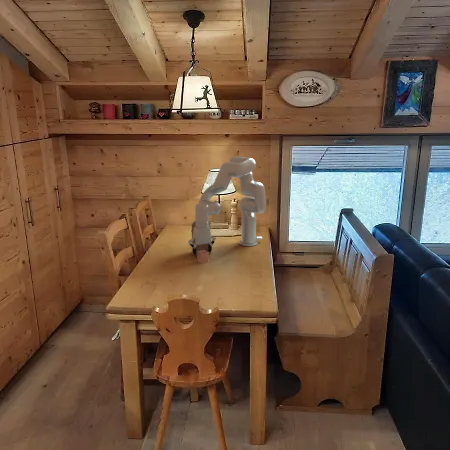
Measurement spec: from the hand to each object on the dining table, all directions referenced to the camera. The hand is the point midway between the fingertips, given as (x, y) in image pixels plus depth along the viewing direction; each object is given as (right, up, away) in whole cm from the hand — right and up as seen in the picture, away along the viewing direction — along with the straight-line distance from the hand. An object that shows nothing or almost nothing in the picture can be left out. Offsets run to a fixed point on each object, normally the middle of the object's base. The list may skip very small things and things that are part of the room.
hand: (202, 253), depth 244 cm
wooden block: (-1, -2, +15) cm, 15 cm away
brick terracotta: (0, -5, +2) cm, 5 cm away
